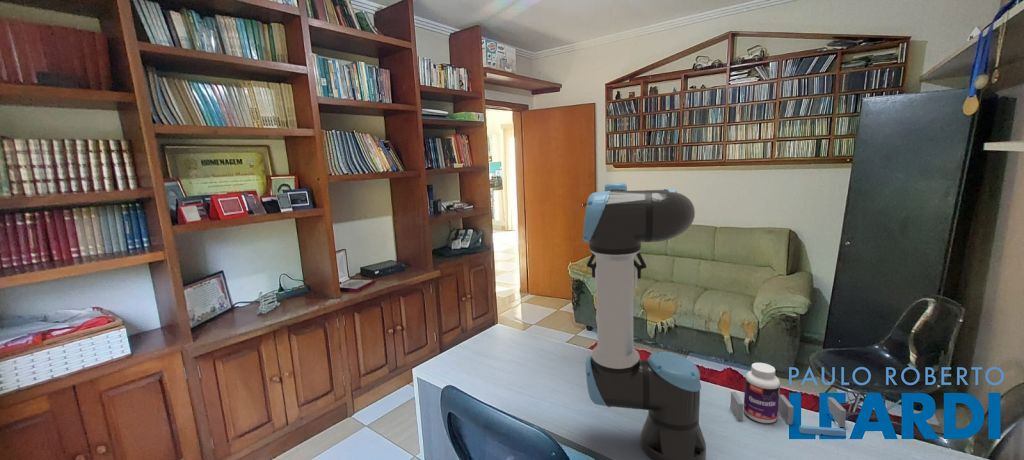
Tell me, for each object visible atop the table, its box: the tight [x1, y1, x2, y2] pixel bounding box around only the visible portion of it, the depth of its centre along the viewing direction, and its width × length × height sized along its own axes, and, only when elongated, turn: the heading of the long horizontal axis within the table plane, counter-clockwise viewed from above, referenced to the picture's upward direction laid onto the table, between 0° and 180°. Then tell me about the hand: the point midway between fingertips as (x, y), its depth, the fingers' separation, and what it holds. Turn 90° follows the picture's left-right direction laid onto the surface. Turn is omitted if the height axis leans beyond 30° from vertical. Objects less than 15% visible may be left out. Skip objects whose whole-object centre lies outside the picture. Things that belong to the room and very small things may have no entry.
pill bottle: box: [743, 362, 781, 424], centre depth 111 cm, size 8×8×14 cm
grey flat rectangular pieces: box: [730, 391, 847, 437], centre depth 109 cm, size 10×26×5 cm, turn 79°
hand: (616, 286), depth 145 cm, fingers open, 13 cm apart
